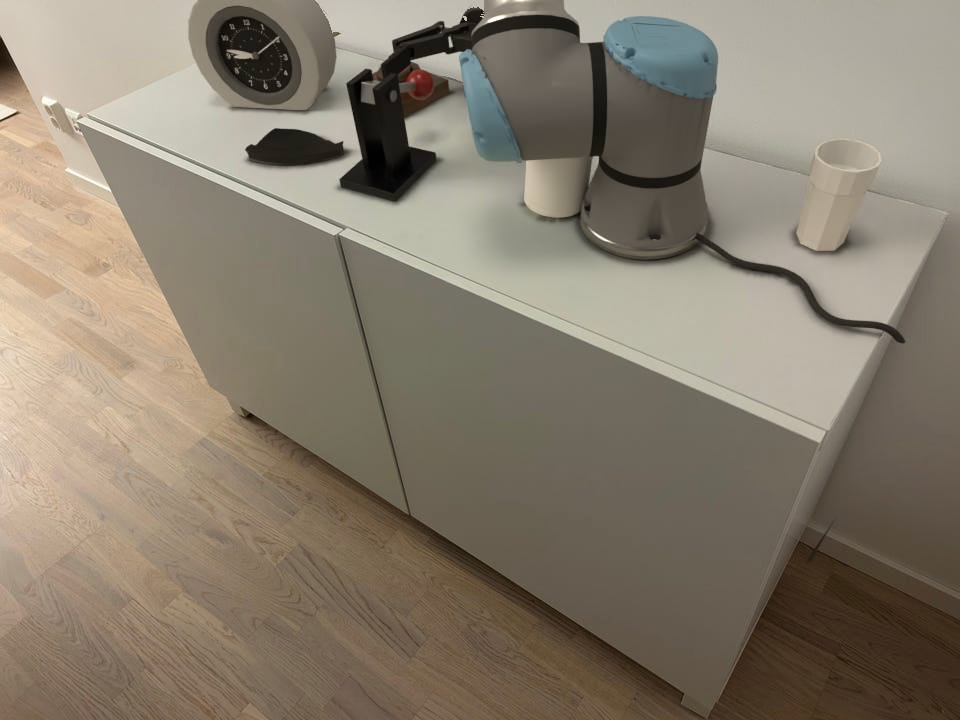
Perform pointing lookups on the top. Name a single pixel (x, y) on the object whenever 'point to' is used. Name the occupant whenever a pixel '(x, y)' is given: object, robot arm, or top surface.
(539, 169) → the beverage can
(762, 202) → the top surface
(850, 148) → the cup
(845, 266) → the top surface
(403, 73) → the button
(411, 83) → the lever
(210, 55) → the alarm clock
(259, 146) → the curved wedge
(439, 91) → the button block
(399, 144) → the bracket
